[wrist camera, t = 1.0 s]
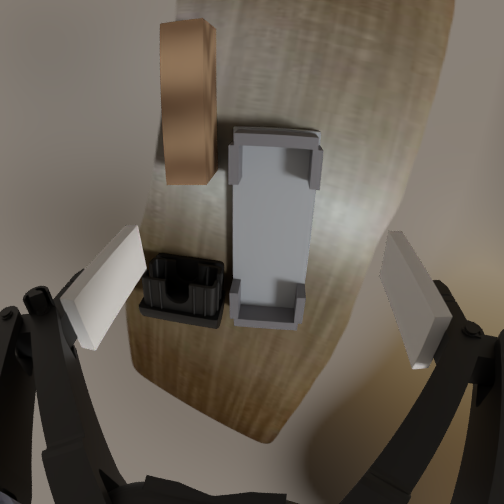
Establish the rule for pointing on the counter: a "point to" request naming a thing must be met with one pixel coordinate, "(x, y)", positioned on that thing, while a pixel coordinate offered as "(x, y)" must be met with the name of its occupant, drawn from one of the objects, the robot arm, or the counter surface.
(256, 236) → the holder
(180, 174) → the wooden block
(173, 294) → the end cap
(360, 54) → the counter surface
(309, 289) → the counter surface
